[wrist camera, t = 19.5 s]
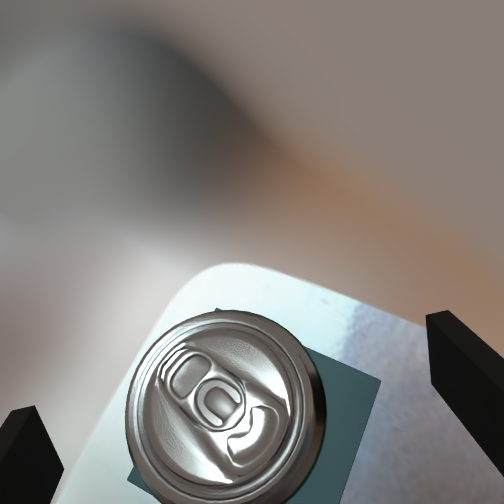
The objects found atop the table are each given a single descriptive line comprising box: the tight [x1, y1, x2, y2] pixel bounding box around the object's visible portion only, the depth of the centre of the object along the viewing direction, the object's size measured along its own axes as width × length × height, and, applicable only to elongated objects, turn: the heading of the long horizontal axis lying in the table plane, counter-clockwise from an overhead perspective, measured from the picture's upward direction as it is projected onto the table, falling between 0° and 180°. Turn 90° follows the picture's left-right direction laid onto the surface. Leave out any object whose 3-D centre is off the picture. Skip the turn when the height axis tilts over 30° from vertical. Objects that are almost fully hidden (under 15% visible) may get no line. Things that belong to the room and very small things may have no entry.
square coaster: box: [127, 308, 381, 504], centre depth 22 cm, size 9×9×3 cm
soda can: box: [125, 310, 327, 504], centre depth 15 cm, size 5×5×12 cm
